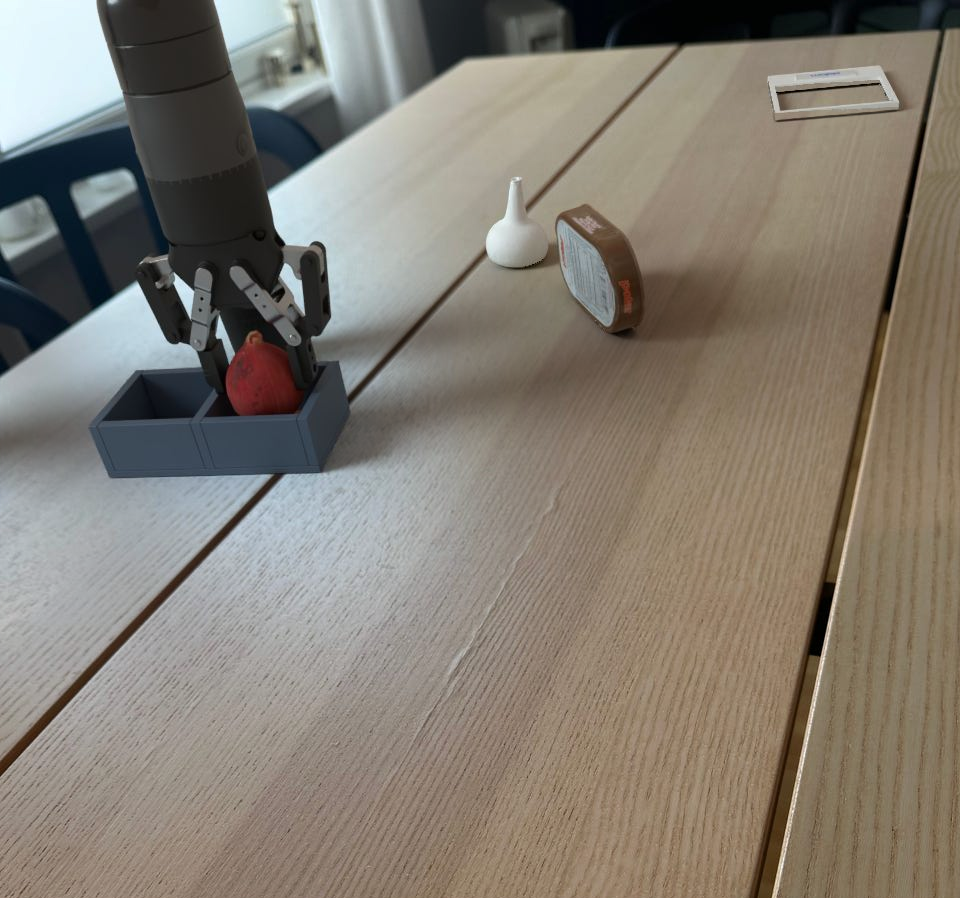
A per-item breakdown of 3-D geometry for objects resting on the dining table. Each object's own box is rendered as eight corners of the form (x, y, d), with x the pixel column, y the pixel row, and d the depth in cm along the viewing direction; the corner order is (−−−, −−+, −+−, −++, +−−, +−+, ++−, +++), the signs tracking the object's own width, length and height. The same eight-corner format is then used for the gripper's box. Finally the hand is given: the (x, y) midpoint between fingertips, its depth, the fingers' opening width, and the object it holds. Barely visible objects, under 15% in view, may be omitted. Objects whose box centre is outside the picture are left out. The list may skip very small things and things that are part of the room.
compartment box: (109, 478, 80) (87, 426, 77) (154, 419, 87) (135, 369, 84) (321, 472, 77) (306, 418, 74) (350, 412, 83) (338, 360, 80)
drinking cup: (283, 381, 89) (217, 137, 76) (209, 377, 92) (132, 141, 79) (320, 342, 94) (264, 108, 81) (249, 339, 97) (183, 112, 84)
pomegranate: (271, 455, 77) (242, 357, 72) (226, 435, 80) (195, 340, 75) (328, 421, 80) (304, 325, 75) (282, 403, 83) (257, 310, 78)
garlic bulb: (494, 249, 107) (485, 169, 101) (553, 246, 105) (547, 165, 100) (482, 273, 102) (472, 191, 97) (544, 271, 101) (537, 187, 95)
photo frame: (880, 63, 137) (899, 100, 124) (878, 72, 138) (898, 110, 125) (768, 74, 140) (775, 111, 127) (767, 83, 141) (774, 120, 127)
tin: (648, 341, 86) (647, 242, 81) (614, 350, 86) (610, 251, 80) (585, 281, 97) (580, 190, 92) (554, 289, 97) (547, 198, 91)
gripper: (317, 129, 68) (366, 361, 79) (122, 147, 71) (196, 369, 82) (285, 165, 63) (343, 409, 74) (75, 183, 65) (160, 416, 76)
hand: (265, 387), depth 78 cm, fingers closed on pomegranate, 6 cm apart
